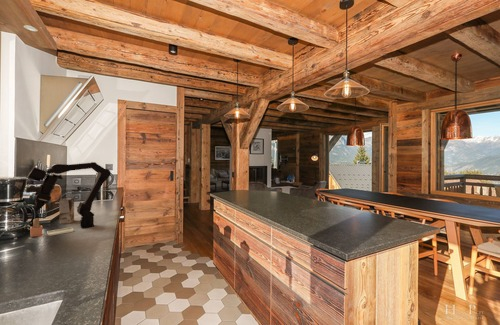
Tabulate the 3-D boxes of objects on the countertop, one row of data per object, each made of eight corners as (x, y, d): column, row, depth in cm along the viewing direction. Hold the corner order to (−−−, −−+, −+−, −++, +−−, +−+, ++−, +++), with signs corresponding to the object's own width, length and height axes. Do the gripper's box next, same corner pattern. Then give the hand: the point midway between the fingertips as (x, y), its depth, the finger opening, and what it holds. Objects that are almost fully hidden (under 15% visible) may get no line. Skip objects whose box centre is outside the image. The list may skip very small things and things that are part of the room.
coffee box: (71, 223, 160) (70, 199, 160) (59, 224, 158) (58, 200, 157) (74, 220, 169) (74, 197, 168) (63, 221, 166) (63, 198, 166)
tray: (72, 229, 147) (72, 227, 147) (74, 232, 141) (74, 230, 141) (46, 233, 139) (46, 231, 139) (47, 237, 133) (47, 234, 133)
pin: (39, 233, 137) (38, 218, 136) (39, 234, 135) (39, 219, 135) (33, 234, 135) (33, 219, 135) (33, 235, 133) (33, 219, 133)
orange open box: (42, 233, 138) (41, 225, 138) (42, 235, 135) (42, 227, 135) (30, 235, 135) (30, 226, 135) (30, 237, 131) (30, 228, 131)
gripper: (31, 178, 140) (16, 204, 136) (32, 180, 127) (16, 208, 123) (53, 184, 147) (40, 209, 143) (56, 187, 134) (42, 214, 130)
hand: (35, 210), depth 135 cm, fingers open, 9 cm apart
